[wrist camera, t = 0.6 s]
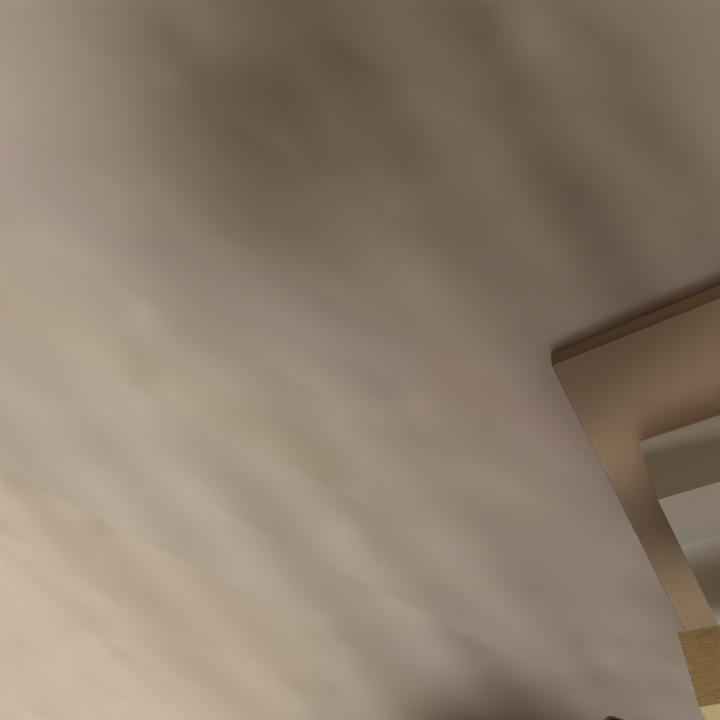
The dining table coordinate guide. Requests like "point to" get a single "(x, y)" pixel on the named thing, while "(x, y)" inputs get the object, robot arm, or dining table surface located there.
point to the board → (660, 438)
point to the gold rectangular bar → (704, 667)
